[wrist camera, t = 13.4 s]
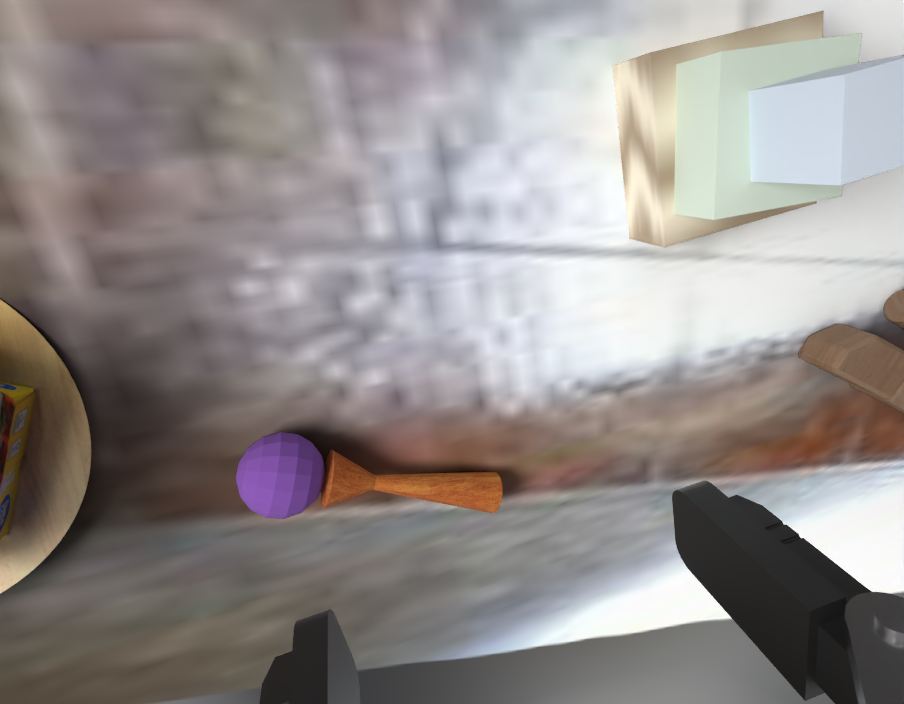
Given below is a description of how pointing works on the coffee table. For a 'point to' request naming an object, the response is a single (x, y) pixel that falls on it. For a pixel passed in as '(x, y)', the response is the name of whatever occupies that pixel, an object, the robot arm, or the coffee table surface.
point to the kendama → (344, 480)
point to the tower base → (653, 130)
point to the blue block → (829, 125)
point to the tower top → (740, 125)
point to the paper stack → (37, 448)
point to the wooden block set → (862, 357)
